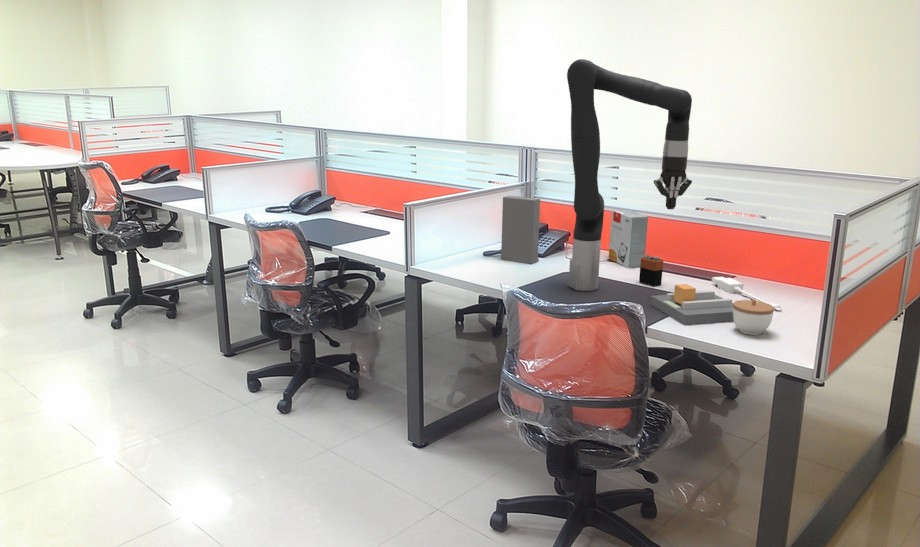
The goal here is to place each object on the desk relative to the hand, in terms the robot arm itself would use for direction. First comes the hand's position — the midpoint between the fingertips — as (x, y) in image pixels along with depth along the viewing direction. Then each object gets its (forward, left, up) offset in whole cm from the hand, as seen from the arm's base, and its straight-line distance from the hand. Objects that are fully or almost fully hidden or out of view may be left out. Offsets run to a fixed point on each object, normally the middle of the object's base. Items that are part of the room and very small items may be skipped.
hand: (670, 209), depth 229 cm
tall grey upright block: (-31, +56, -29) cm, 70 cm away
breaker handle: (-4, -19, -25) cm, 32 cm away
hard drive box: (+9, +44, -29) cm, 54 cm away
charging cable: (+26, -7, -30) cm, 40 cm away
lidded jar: (+6, -38, -29) cm, 48 cm away
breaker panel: (+1, -19, -29) cm, 35 cm away
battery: (+3, +14, -29) cm, 33 cm away
